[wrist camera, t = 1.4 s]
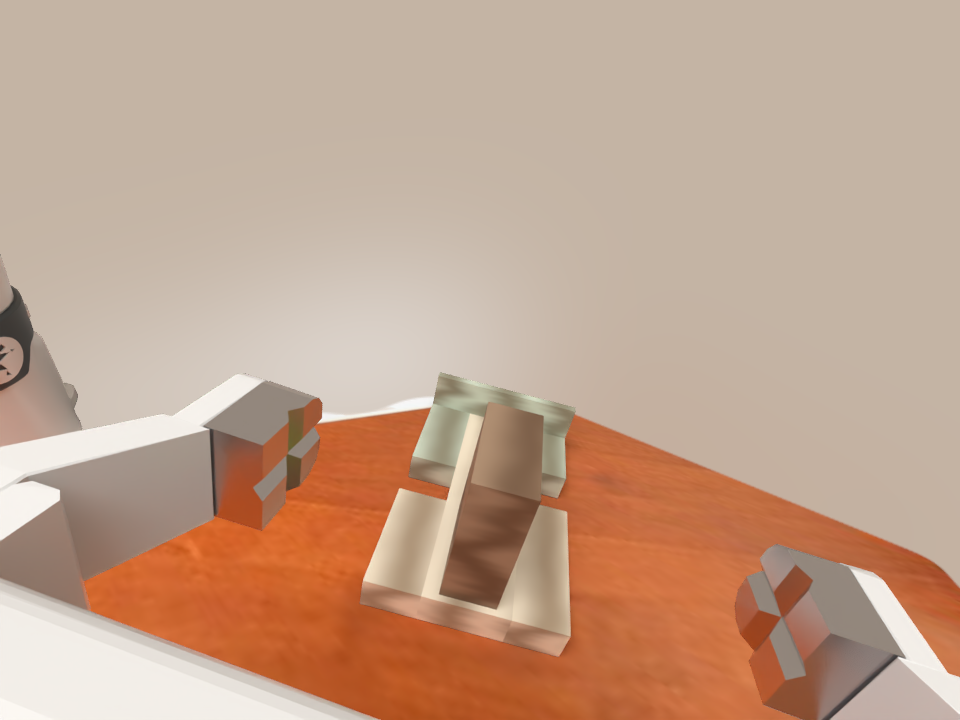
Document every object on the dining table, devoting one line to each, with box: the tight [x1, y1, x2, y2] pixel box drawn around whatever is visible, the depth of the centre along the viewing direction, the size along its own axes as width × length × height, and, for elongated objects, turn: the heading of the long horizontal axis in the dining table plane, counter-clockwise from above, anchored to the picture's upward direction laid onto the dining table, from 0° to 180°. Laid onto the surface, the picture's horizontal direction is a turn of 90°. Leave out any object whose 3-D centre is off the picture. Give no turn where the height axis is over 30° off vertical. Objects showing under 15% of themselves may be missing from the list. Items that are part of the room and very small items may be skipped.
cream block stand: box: [360, 373, 576, 657], centre depth 45 cm, size 16×24×7 cm, turn 172°
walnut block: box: [439, 402, 544, 610], centre depth 36 cm, size 4×9×12 cm, turn 172°
